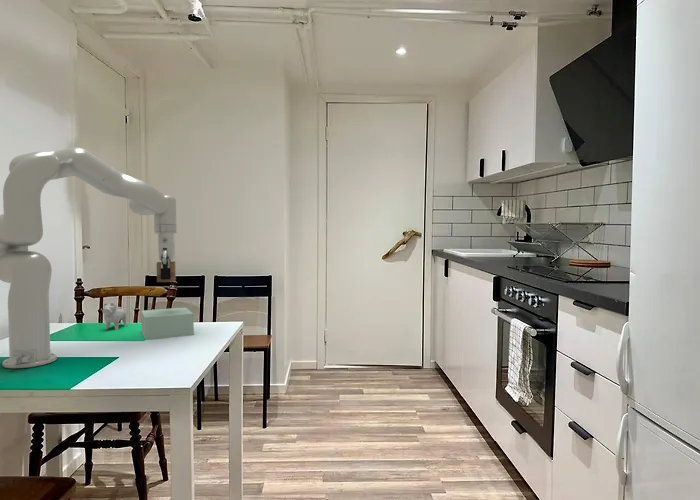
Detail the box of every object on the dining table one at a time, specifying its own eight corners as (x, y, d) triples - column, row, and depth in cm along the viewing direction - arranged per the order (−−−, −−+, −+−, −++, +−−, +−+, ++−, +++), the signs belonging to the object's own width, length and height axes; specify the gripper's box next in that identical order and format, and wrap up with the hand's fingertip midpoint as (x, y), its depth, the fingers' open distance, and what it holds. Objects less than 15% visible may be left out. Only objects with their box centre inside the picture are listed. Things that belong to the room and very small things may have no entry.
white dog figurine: (98, 331, 171) (97, 303, 170) (115, 325, 184) (114, 298, 183) (112, 331, 171) (112, 303, 171) (128, 325, 184) (128, 298, 183)
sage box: (193, 335, 165) (193, 313, 165) (145, 340, 158) (145, 317, 157) (186, 327, 179) (185, 307, 179) (141, 331, 172) (141, 310, 171)
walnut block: (174, 281, 166) (174, 262, 166) (156, 282, 164) (156, 262, 164) (175, 280, 172) (175, 261, 171) (158, 280, 170) (158, 261, 170)
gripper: (175, 229, 160) (176, 280, 161) (177, 229, 177) (178, 276, 177) (151, 229, 158) (152, 281, 159) (156, 229, 174) (157, 276, 175)
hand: (166, 278), depth 168 cm, fingers closed on walnut block, 6 cm apart
